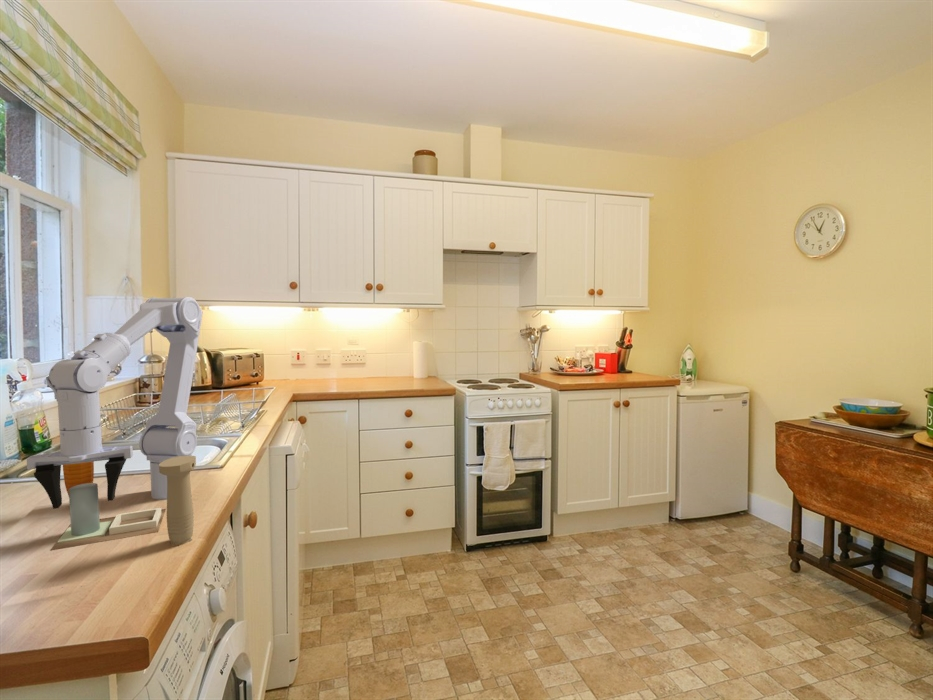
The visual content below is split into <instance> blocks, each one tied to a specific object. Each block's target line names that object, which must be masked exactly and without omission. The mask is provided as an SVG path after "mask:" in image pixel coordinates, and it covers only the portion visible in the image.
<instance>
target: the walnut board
mask: <svg viewBox="0 0 933 700" xmlns="http://www.w3.org/2000/svg"><path fill="white" fill-rule="evenodd" d="M166 511H167V508H161V516H160V519H159V522H158V525H157V527H154V528H148V529H142V530H136V531H130V532H124V533H118V534H112V535H109V529H108V530H107V532H106V534H105V535H103V536H97V537H91V538H86V539H80V540H74V541H68V542H62V543H57V542H58V540H59V539H60V538H61V537H62V535H63V534H64V533H65V531H66V530H67V529H68V528H69V527H71V523H70V524H69V526H68V527H67V528H66V529H65V531H64V532H63V533H62V535H61V536H60V537H59V538H58V540H57V541H56V542H55V543H54V544H53V546H52V547H51V548H50V550H49V551H51V552H52V551H57V550H62V549H63V550H64V549H68V548H73V547H79V546H85V545H91V544H95V543H103V542H108V541H109V542H110V541H115V540H119V539H126V538H132V537H137V536H142V535H143V536H144V535H149V534H155V533H159V531H160V528H161V525H162V521H163V518H164V515H165V512H166ZM116 516H117V515H116ZM116 516H110V517H103V518H99V519H100V523H101V522H107V521H112V523H113V521H114V519H115V517H116ZM153 517H154V516H151V517H144V518H138V519H132V520H125V521H121V523H120V525H124V524H131V523H137V522H143V521H149V520H153ZM112 523H111V524H112ZM110 526H111V525H110ZM109 528H110V527H109Z"/></svg>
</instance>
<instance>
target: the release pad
mask: <svg viewBox="0 0 933 700" xmlns="http://www.w3.org/2000/svg"><path fill="white" fill-rule="evenodd" d="M111 523H112V521H107V522H101V523H100V529H99V530H98V531H96V532H94V533H91V534H87V535H82V536H73V535H71V527H69V526H68V527H69V528H68V527H67V528H68V529H67V528H66V529H67V530H66V529H65V530H64V532H65V533H64V532H63V533H64V534H63V533H62V534H63V535H61V536H62V537H61V536H60V537H61V538H60V537H59V538H60V539H59V538H58V540H57V541H58V542H57V541H56V542H57V543H62V542H68V541H74V540H80V539H86V538H91V537H97V536H103V535H105V534H106V532H107V530H108V529H109V527H110V525H111Z"/></svg>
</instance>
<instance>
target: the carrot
mask: <svg viewBox="0 0 933 700" xmlns="http://www.w3.org/2000/svg"><path fill="white" fill-rule="evenodd" d="M94 462H95V461H93V462H84V463H75V464H66V465H62V472H63V480H64V481H63V482H64V486H65V489H66V492H67V496H68V497H69V488H71V487H73V486H77V485H81V484H87V483H94V477H95V476H94V475H95V471H94V470H95V469H94V468H95V466H94V465H95V463H94Z"/></svg>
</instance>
